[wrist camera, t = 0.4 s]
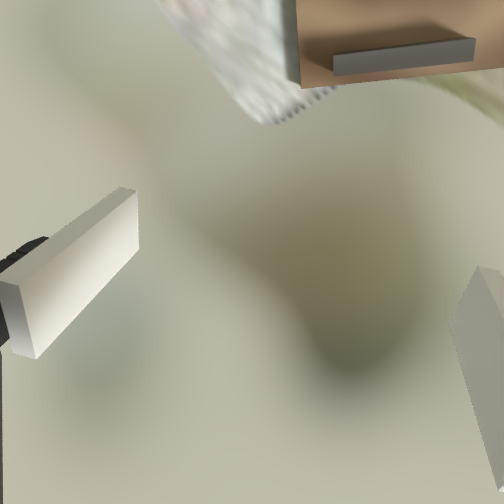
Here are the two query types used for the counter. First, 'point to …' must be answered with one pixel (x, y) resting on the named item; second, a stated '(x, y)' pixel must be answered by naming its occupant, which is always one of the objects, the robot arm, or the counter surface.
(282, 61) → the counter surface
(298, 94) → the counter surface
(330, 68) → the mounting plate
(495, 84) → the counter surface
